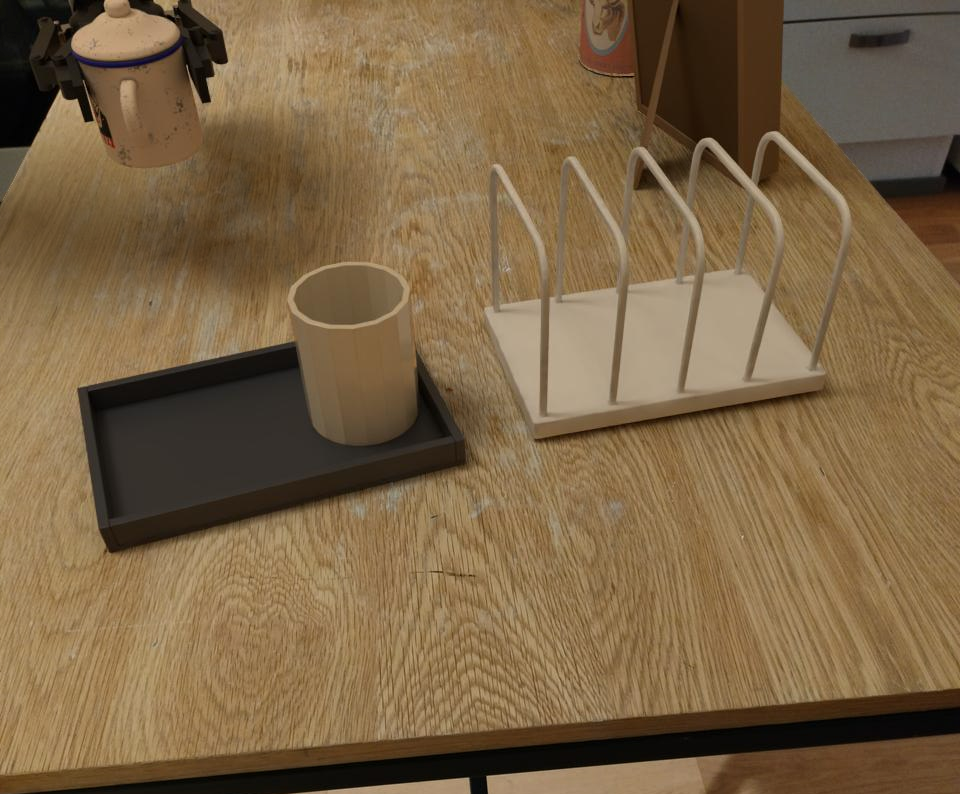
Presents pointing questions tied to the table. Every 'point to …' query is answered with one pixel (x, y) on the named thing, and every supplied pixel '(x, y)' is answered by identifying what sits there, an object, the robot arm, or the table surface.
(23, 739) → the table surface
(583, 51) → the canned food
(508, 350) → the file sorter
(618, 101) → the table surface
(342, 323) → the cream cup
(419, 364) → the tray
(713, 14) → the photo frame
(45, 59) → the robot arm
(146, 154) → the teacup with lid
